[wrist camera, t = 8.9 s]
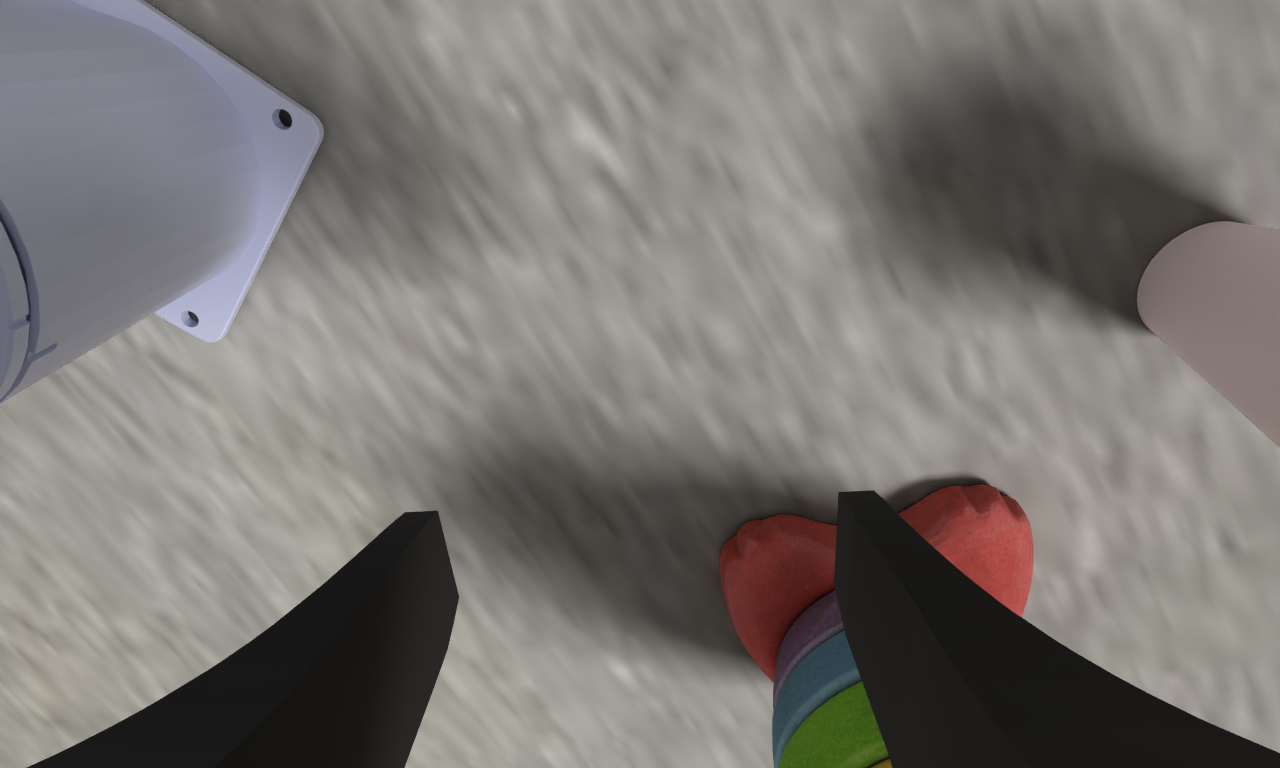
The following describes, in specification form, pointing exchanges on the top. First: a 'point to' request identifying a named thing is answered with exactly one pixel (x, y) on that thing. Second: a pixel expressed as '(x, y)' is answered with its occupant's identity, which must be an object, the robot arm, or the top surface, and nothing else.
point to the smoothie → (1222, 312)
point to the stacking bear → (812, 625)
